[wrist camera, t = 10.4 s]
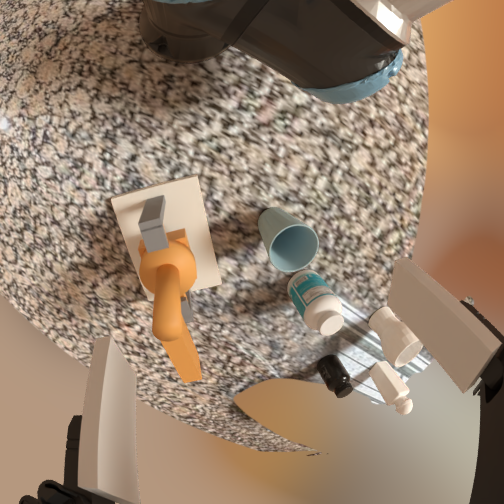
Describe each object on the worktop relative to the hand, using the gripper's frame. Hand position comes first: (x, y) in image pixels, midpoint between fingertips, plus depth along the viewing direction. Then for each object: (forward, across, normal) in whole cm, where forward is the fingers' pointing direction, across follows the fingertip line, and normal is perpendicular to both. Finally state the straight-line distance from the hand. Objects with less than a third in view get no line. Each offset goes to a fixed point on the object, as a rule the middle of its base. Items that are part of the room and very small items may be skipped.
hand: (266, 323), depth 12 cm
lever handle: (+30, -8, -12) cm, 34 cm away
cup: (+35, +10, -12) cm, 38 cm away
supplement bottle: (+35, +22, -58) cm, 71 cm away
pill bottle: (+35, +15, -27) cm, 47 cm away
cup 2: (+35, +38, -47) cm, 70 cm away
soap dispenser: (+35, +43, -74) cm, 92 cm away
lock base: (+35, -8, -11) cm, 37 cm away
